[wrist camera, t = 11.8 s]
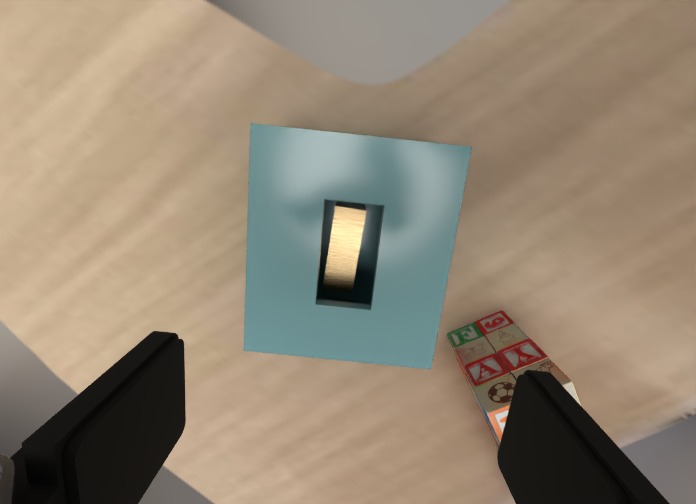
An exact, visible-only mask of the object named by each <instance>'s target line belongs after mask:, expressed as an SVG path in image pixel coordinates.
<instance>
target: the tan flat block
mask: <svg viewBox="0 0 696 504" xmlns="http://www.w3.org/2000/svg"><path fill="white" fill-rule="evenodd" d="M365 217H366V207H365V203H355V202H346V201H337V203H336V205H335V211H334V217H333V224H332V230H331V237H330V243H329V249H328V256H327V262H326V268H325V275H324V281H323V288H325V289H332V290H338V291H344V292H350V293H352V289H353V283H354V278H355V272H356V267H357V261H358V256H359V250H360V245H361V239H362V233H363V228H364V222H365Z"/></svg>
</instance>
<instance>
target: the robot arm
mask: <svg viewBox="0 0 696 504" xmlns="http://www.w3.org/2000/svg"><path fill="white" fill-rule="evenodd" d="M185 420H186V418H185V367H184V342H183V340H182V339H179V338H178V335H177V334H176V333H169V332H159V331H154V332H152V333H151V334H149V335H148V336H147V337H146V338H145V339H143V340H142V341H141V342H140V343H139V344H138V345H136V346H135V347H134V348H133V349H132V350H131V351H129V352H128V353H127V354H126V355H125V356H124V357H122V358H121V359H120V360H119V361H118V362H116V363H115V364H114V365H113V366H112V367H111V368H109V369H108V370H107V371H106V372H105V373H104V374H102V375H101V376H100V377H99V378H98V379H96V380H95V381H94V382H93V383H92V384H91V385H89V386H88V387H87V388H86V389H85V390H84V391H82V392H81V393H80V394H79V395H78V396H77V397H75V398H74V399H73V400H72V401H71V402H69V403H68V404H67V405H66V406H65V407H64V408H62V410H60V411H59V412H58V413H57V414H55V415H54V416H53V417H52V418H51V419H50V420H48V421H47V422H46V423H45V424H44V425H42V426H41V427H40V428H39V429H38V430H37V431H35V432H34V433H33V434H32V435H31V436H30V437H28V438H27V439H26V440H25V441H24V442H23V443H22V448H21V449H20V450H19V451H17V452H16V453H15V454H14V455H13V456H12V457H11V458H9V457H8V456H6V455H1V454H0V504H138V503H139V501H140V500H141V498H142V497H143V495H144V493H145V492H146V490H147V489H148V487H149V486H150V484H151V482H152V481H153V479H154V478H155V476H156V474H157V473H158V471H159V470H160V468H161V467H162V465H163V463H164V462H165V460H166V459H167V457H168V455H169V454H170V452H171V451H172V449H173V448H174V446H175V444H176V443H177V441H178V440H179V438H180V436H181V435H182V433H183V430H184V427H185ZM498 465H499V468H500V470H501V472H502V474H503V477H504V479H505V481H506V483H507V485H508V487H509V490H510V492H511V494H512V496H513V498H514V500H515V503H516V504H669V503H668V502H667V500H666V499H665V498H664V497H663V496H662V495H661V494H660V493H659V492H658V490H657V489H656V488H655V487H654V486H653V485H652V484H651V483H650V482H649V481H648V479H647V478H646V477H645V476H644V475H643V474H642V473H641V472H640V471H639V470H638V468H637V467H636V466H635V465H634V464H633V463H632V462H631V461H630V460H629V459H628V457H627V456H626V455H625V454H624V453H623V452H622V451H621V450H620V449H619V447H618V446H617V445H616V444H615V443H614V442H613V441H612V440H611V439H610V437H609V436H608V435H607V434H606V433H605V432H604V431H603V430H602V429H601V428H600V426H599V425H598V424H597V423H596V422H595V421H594V420H593V419H592V418H591V417H590V415H589V414H588V413H587V412H586V411H585V410H584V409H583V408H582V407H581V406H580V404H579V403H578V402H577V401H576V400H575V399H574V398H573V397H572V396H571V395H570V393H569V392H568V391H567V390H566V389H565V388H564V387H563V386H562V385H561V383H560V382H559V381H558V380H557V379H556V378H555V377H554V376H553V375H552V374H551V373H550V372H545V371H535V370H526V371H525V372H524V373H523V375H522V374H521V375H519V376H518V377H517V380H516V384H515V388H514V392H513V396H512V400H511V403H510V407H509V411H508V415H507V419H506V423H505V427H504V430H503V434H502V438H501V442H500V446H499V450H498Z"/></svg>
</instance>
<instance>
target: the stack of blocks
mask: <svg viewBox="0 0 696 504" xmlns="http://www.w3.org/2000/svg"><path fill="white" fill-rule="evenodd" d="M447 336H448V338H449V340H450V342H451V345H452V347H453V349H454V351H455V354H456V356H457V360H458V362H459V364H460V367H461V369H462V371H463V373H464V375H465V378H466V380H467V382H468V384H469V387H470V389H471V391H472V393H473V396H474V398H475V400H476V402H477V404H478V406H479V408H480V410H481V412H482V413H483V415H484V417H485V419H486V421H487V423H488V425H489V427H490V429H491V431H492V433H493V435H494V437H495V440H496V442H497V447H498V449H499V446H500V442H501V438H502V434H503V430H504V427H505V423H506V419H507V415H508V411H509V407H510V403H511V400H512V396H513V392H514V388H515V384H516V380H517V377H518V376H519V375H521V374H522V375H523V373H524V372H525V371H526V370H535V371H545V372H550V373H551V374H552V375H553V376H554V377H555V378H556V379H557V380H558V381H559V382H560V383H561V385H562V386H563V387H564V388H565V389H566V390H567V391H568V392H569V393H570V395H571V396H572V397H573V398H574V399H575V400H576V401H577V402H578V403H579V404H580V406H581V403H580V400H579V398H578V395H577V392H576V390H575V387H574V385H573V383H572V381H571V380H570V379H569V378H568V377H567V376H566V375H565V374H564V373H563V372H562V371H561V370H560V369H559V368H558V367H557V366H556V365H555V364H554V363H553V362H552V361H551V360H550V359H549V358H548V356H547V355H546V354H545V353H544V352H543V351H542V350H541V349H540V348H539V347H538V346H537V345H536V344H535V343H534V342H533V341H532V340H531V339H529V337H528V336H527V335H525V334H524V333H523V332H522V331H521V330H520V329H519V327H518V326H517V325H516V324H515V323H514V322H513V321H512V320H511V319H510V318H509V317H508V316H507V315H506V313H505V312H504V311H500V312H497V313H495V314H492V315H490V316H488V317H485V318H483V319H480V320H478V321H476V322H474V323H472V324H470V325H467V326H465V327H462V328H460V329H457V330H455V331H453V332H450V333H448V334H447ZM581 407H582V406H581Z"/></svg>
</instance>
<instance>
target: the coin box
mask: <svg viewBox="0 0 696 504" xmlns="http://www.w3.org/2000/svg"><path fill="white" fill-rule="evenodd" d="M471 150H472V147H469V146H460V145H451V144H441V143H432V142H423V141H413V140H404V139H395V138H385V137H376V136H367V135H357V134H348V133H339V132H329V131H320V130H310V129H301V128H292V127H282V126H273V125H264V124H254V123H251V126H250V159H249V192H248V225H247V258H246V290H245V323H244V351H252V352H262V353H272V354H282V355H292V356H302V357H312V358H322V359H332V360H342V361H352V362H362V363H372V364H382V365H392V366H402V367H412V368H422V369H431V367H432V361H433V356H434V350H435V345H436V339H437V334H438V329H439V323H440V318H441V312H442V307H443V301H444V296H445V291H446V285H447V280H448V274H449V269H450V264H451V258H452V253H453V247H454V242H455V236H456V231H457V226H458V220H459V215H460V209H461V204H462V198H463V193H464V188H465V182H466V177H467V171H468V166H469V160H470V155H471ZM337 201H346V202H355V203H365V207H366V217H365V222H364V228H363V233H362V239H361V245H360V250H359V256H358V261H357V267H356V272H355V278H354V283H353V289H352V293H350V292H344V291H338V290H332V289H325V288H323V281H324V275H325V268H326V262H327V256H328V249H329V243H330V237H331V230H332V224H333V217H334V211H335V205H336V203H337Z"/></svg>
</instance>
